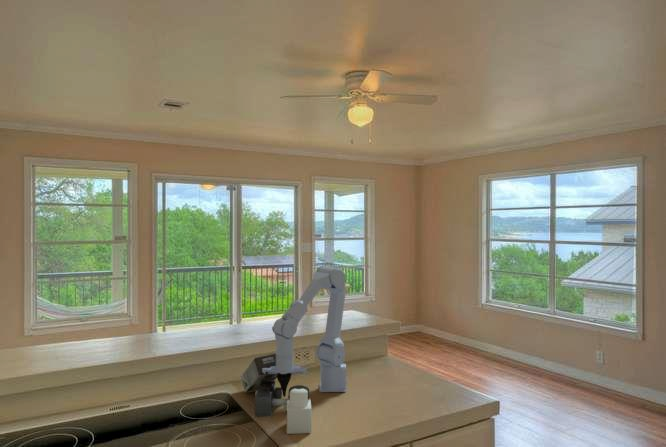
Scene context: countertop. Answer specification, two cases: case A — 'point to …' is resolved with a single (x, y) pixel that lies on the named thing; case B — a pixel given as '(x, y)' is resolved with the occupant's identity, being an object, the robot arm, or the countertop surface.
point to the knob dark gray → (277, 393)
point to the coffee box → (258, 372)
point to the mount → (264, 399)
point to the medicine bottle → (298, 410)
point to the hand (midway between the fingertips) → (284, 395)
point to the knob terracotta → (279, 402)
